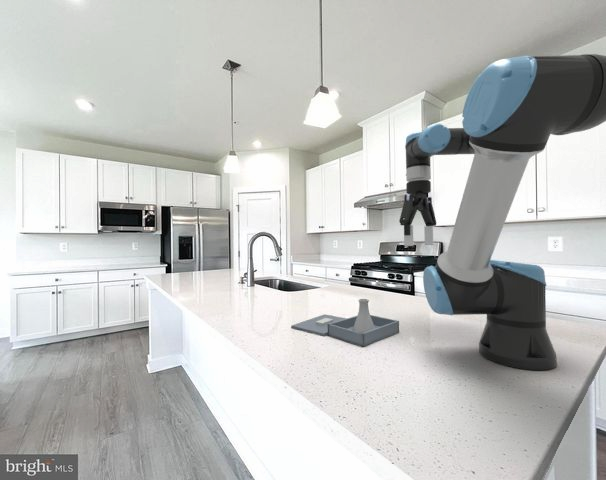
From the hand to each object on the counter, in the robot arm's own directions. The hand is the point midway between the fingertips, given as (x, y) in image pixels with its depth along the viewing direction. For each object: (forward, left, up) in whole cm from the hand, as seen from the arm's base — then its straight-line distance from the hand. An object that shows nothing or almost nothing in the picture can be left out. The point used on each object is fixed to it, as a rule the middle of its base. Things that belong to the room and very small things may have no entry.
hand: (419, 245), depth 98 cm
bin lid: (+23, +22, -27) cm, 42 cm away
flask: (+8, +20, -26) cm, 34 cm away
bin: (+8, +20, -27) cm, 34 cm away
